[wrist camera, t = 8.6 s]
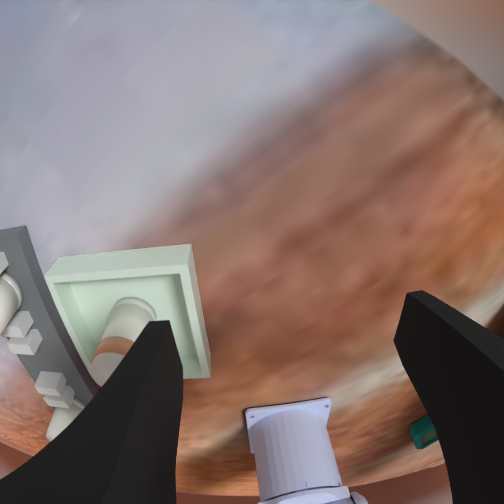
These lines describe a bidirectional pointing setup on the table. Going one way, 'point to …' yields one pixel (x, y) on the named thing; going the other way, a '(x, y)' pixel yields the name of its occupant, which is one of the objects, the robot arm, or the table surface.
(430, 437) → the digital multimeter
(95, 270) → the tray
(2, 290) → the white glossy rounded part
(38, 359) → the fuse board
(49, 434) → the cylinder
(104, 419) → the robot arm
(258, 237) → the table surface
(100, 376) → the cylinder
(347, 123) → the table surface
